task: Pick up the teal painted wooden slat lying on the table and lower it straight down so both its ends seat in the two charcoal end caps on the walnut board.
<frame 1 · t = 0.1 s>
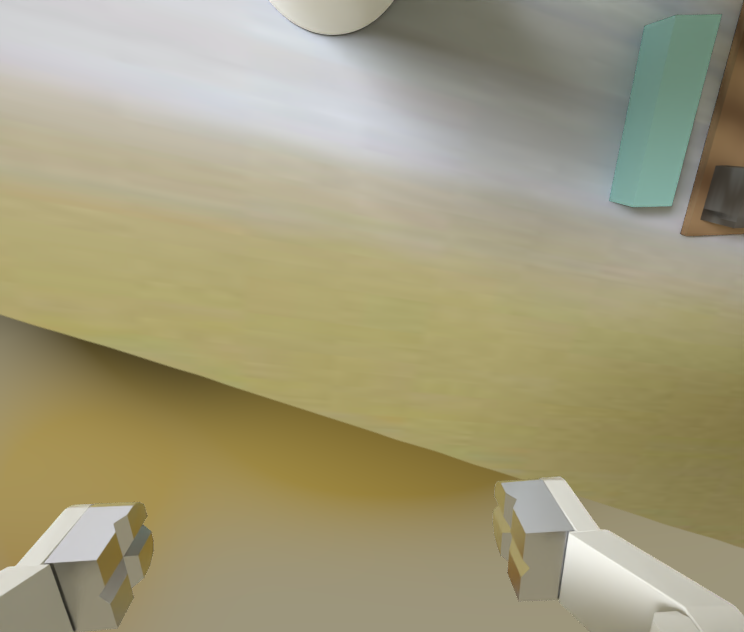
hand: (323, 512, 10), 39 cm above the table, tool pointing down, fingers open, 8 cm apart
slat: (643, 119, 43), on the table
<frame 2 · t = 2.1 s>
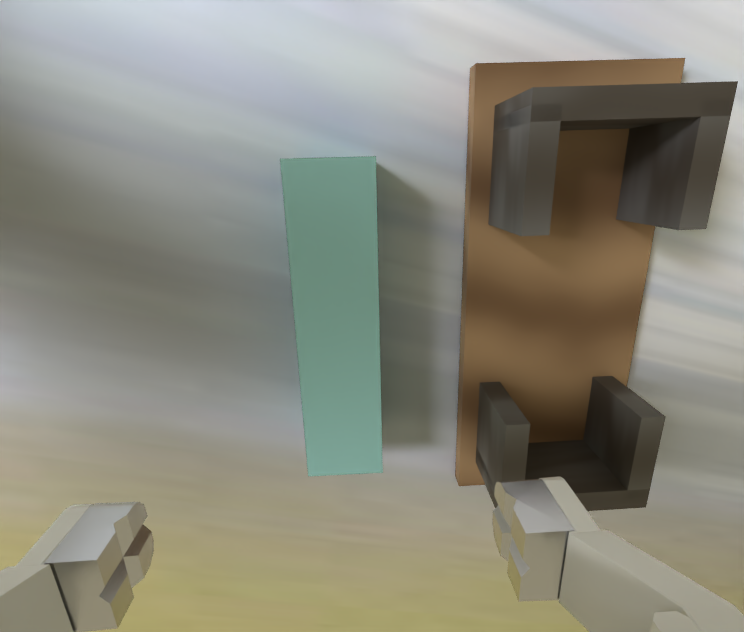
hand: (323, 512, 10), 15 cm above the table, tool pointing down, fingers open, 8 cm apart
cap rail: (546, 300, 25), on the table
slat: (340, 307, 24), on the table
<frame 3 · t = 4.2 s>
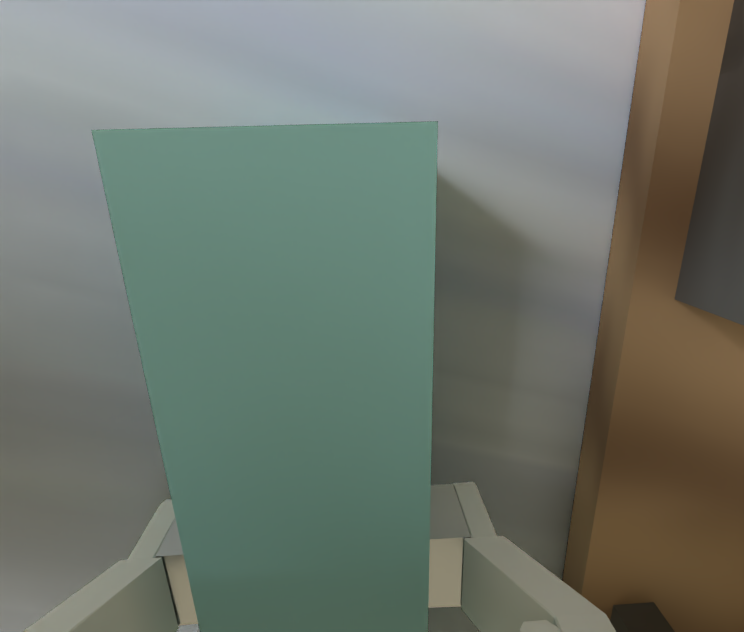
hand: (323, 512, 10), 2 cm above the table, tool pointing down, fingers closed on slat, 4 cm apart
slat: (328, 459, 12), on the table, touching gripper
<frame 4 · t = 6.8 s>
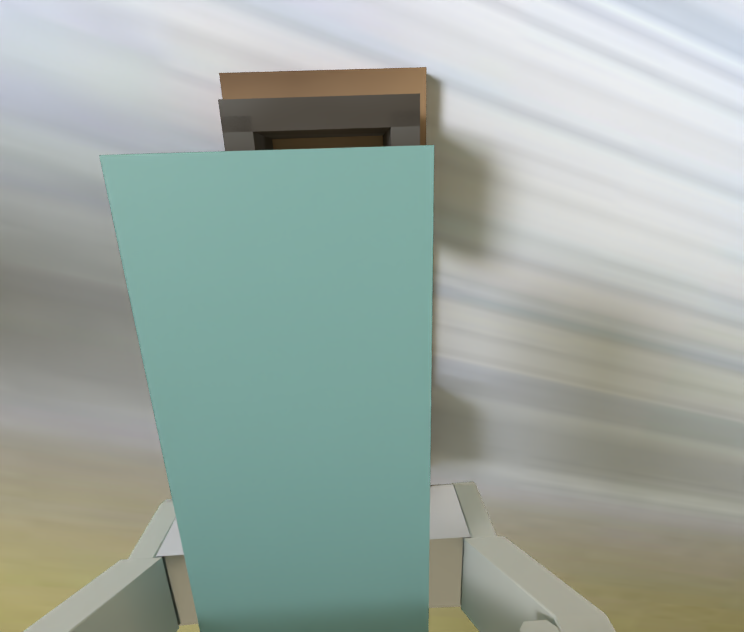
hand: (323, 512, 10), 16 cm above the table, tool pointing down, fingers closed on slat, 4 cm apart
cap rail: (339, 301, 25), on the table
slat: (328, 469, 12), point 14 cm above the table, touching gripper
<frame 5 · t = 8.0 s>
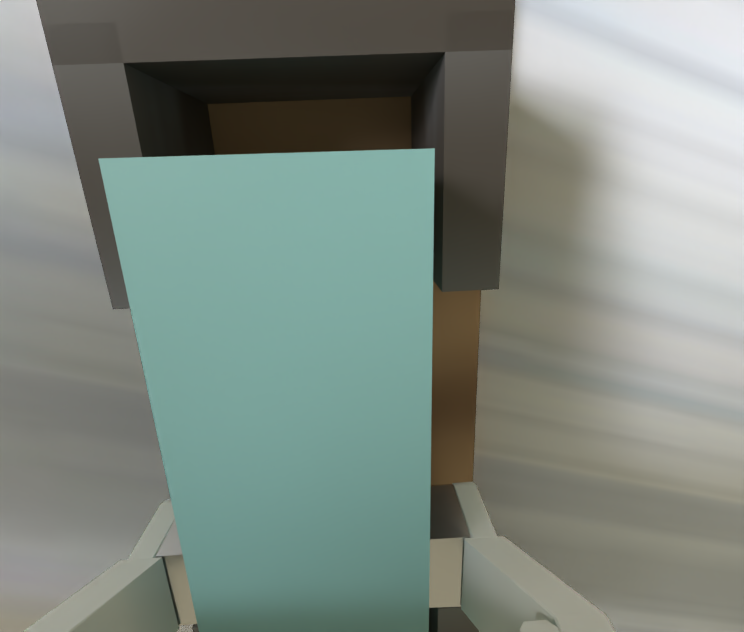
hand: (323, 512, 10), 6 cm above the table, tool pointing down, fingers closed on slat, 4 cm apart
cap rail: (334, 377, 15), on the table
slat: (329, 471, 12), point 4 cm above the table, touching gripper
when the fingers open (4 cm above the table, at t = 9.1 s): slat stays where it is, resting on cap rail.
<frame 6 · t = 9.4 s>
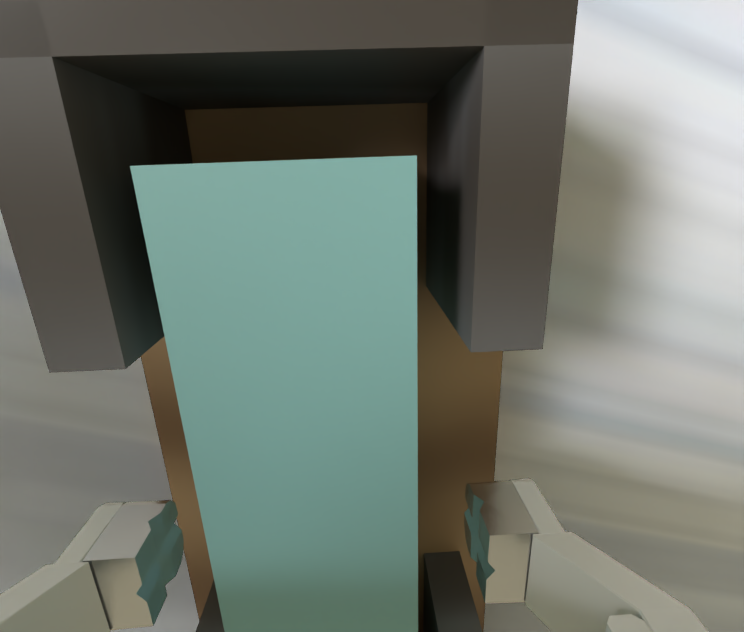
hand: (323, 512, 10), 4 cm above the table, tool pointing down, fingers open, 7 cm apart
cap rail: (332, 421, 14), on the table
slat: (329, 449, 13), point 1 cm above the table, touching cap rail
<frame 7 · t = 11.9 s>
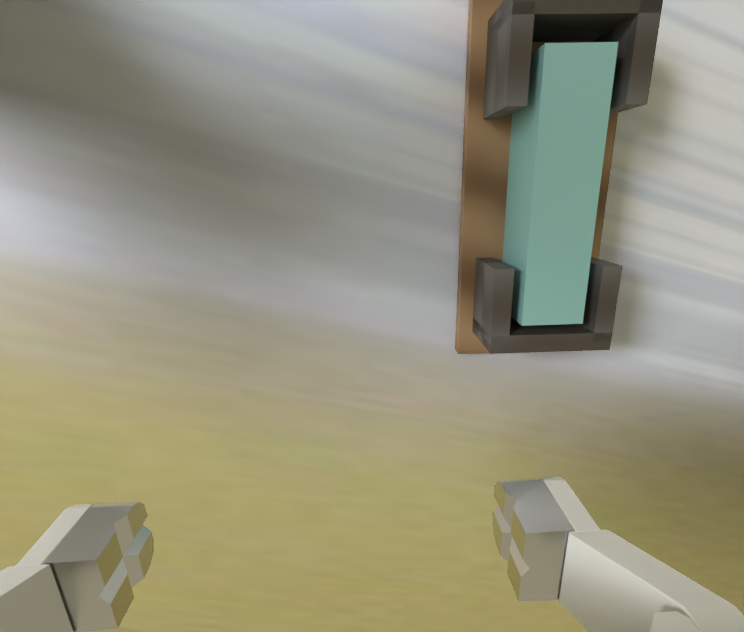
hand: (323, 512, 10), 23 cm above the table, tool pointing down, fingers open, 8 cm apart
cap rail: (530, 190, 30), on the table
slat: (535, 195, 29), point 1 cm above the table, touching cap rail
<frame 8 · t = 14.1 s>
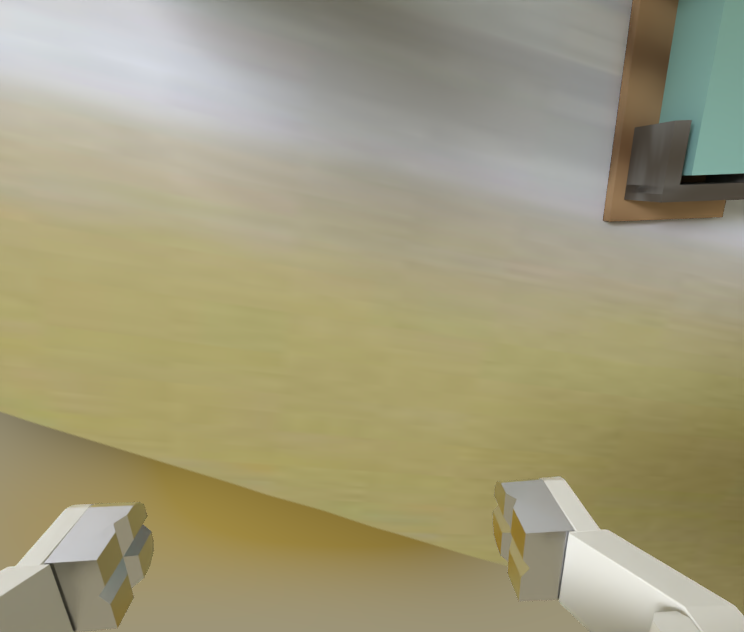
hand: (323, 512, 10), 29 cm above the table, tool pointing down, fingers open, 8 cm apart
cap rail: (685, 64, 34), on the table
slat: (693, 66, 33), point 1 cm above the table, touching cap rail
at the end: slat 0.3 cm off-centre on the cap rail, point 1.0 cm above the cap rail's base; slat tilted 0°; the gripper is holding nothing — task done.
